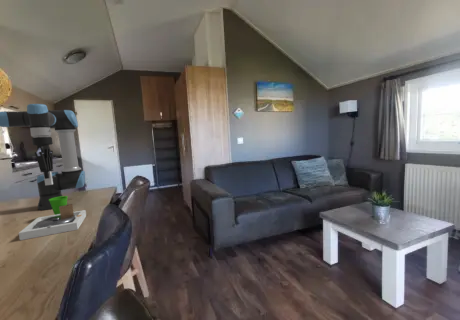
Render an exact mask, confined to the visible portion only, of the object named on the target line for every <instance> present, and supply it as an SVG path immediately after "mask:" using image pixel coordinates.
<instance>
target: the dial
mask: <svg viewBox="0 0 460 320" xmlns="http://www.w3.org/2000/svg"><path fill="white" fill-rule="evenodd" d="M59 209H60V215H59V216H55V217H51V218H47V219H44V220H42V221H40V222H38V223H37V224H36V229H37V228H43V227H48V226H49V225H51V226H54V225H60V224H66V223H71V222H73V221H74V220H75V215H74V213H73V212H74V207H73V203H70V204H67V205H64V206H59Z"/></svg>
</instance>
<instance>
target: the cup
mask: <svg viewBox="0 0 460 320" xmlns="http://www.w3.org/2000/svg"><path fill="white" fill-rule="evenodd" d="M68 198H69V197H68V195H62V196H60V197H55V198H51V199H49V201H50V204H51V206H52V209H51V210H52V211H53V215H57V214H60V209H59V206H64V205H68Z"/></svg>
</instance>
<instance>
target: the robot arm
mask: <svg viewBox="0 0 460 320" xmlns="http://www.w3.org/2000/svg"><path fill="white" fill-rule="evenodd" d="M0 127H1V128H16V127H17V128H19V127H20V128H21V127H22V128H23V127H29V130H30V136H31V137H32V138H31V143H32V146H37V148H36V151H34V155H35V157H36V160H37V164H38V168H39V171H40V173H43V174H40V175H38V176H37V177H36V183H37V188H38V195H39V199H38V202H37V209H38V210H39V211H48V210H53V209H52V206H51V204H50V201H49V199H51V198H55V197H60V196H63V194H62V191H65V190H66V191H67V190H73V189H74V190H75V189H79V188H83V187H84V186H85V182H86V171H85V170H82V168H81V167H80V166H79V161H78V154H77V147H76V138H75V132H76V131H77V128H78V127H79V123H78V119H77V115H76V114H75V113H74V111H72V110H70V109H59V110H58V109H56V110H55V109H53V110H52V109H51V110H49V109H48V106H47V105H46V104H44V103H29V104H27V106H26V111H17V110H16V111H14V110H13V111H6V110H5V111H0ZM52 129H54V132H56V133H57V135H58V141H59V147H60V148H59V149H60V152H61V159H62V166H63V167H62V170H61V173H60V172H59V171H54V161H53V160H54V159H53V154H54V151H53V150H51V147H50V145H53V144H54V143H53V137H52V131H53V130H52Z"/></svg>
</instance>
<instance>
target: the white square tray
mask: <svg viewBox="0 0 460 320" xmlns="http://www.w3.org/2000/svg"><path fill="white" fill-rule="evenodd" d="M73 213H74V215H75V220H74V221H73V222H71V223H66V224H60V225H54V226H51V225H49V226H48V227H43V228H37V229H36V224H37V223H38V222H40V221H42V220H44V219H47V218H51V217H55V216H59V215H60V214H57V215H55V214H51V215H46V216H39V217H37V218H35V219H34V220H32V222H30V223H29V224H28V225H26V227H24V228H23V229H22V230H20V231H19V232H18V238H19V241H25V240H30V239H36V238H41V237H45V236H51V235H56V234H61V233H66V232H71V231H78V230H79V229H80V226H81V225H82V223H83V222H84V220H85V219H86V218H87V211H86V209H83V210H77V211H73Z"/></svg>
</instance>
